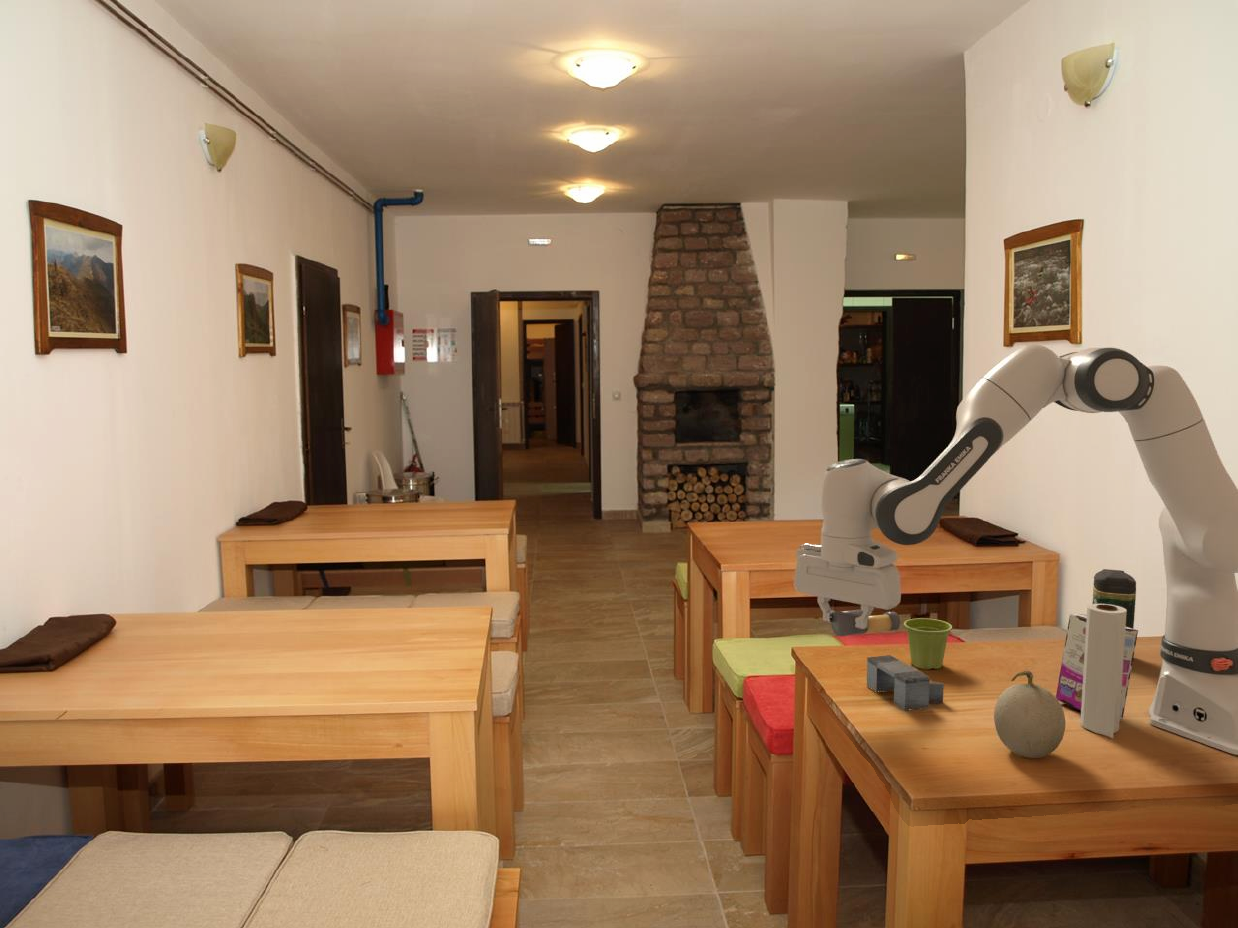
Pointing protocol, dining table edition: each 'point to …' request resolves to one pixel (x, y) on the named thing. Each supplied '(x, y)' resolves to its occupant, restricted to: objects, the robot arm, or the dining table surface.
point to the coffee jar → (1116, 591)
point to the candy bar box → (1074, 663)
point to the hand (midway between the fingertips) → (844, 624)
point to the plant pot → (927, 641)
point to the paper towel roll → (1103, 668)
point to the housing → (902, 682)
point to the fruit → (1029, 719)
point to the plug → (846, 623)
